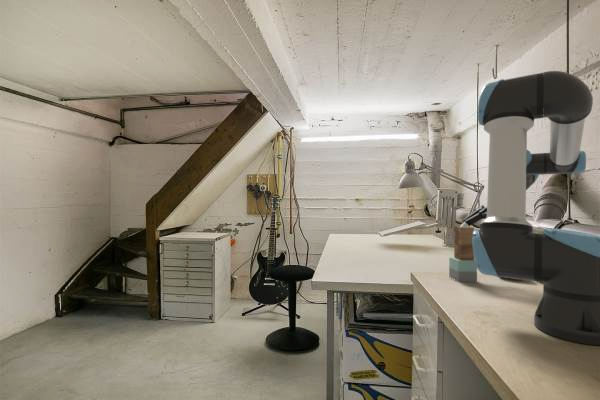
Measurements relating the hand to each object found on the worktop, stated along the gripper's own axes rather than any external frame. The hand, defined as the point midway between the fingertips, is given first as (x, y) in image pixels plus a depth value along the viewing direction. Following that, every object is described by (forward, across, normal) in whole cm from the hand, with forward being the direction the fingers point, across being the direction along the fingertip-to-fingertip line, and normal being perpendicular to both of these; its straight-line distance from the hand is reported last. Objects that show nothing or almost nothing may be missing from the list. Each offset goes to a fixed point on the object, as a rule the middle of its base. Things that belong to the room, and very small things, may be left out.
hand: (466, 238), depth 124 cm
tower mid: (+9, 0, -8) cm, 12 cm away
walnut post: (+6, 0, -5) cm, 8 cm away
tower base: (+12, 0, -10) cm, 16 cm away
